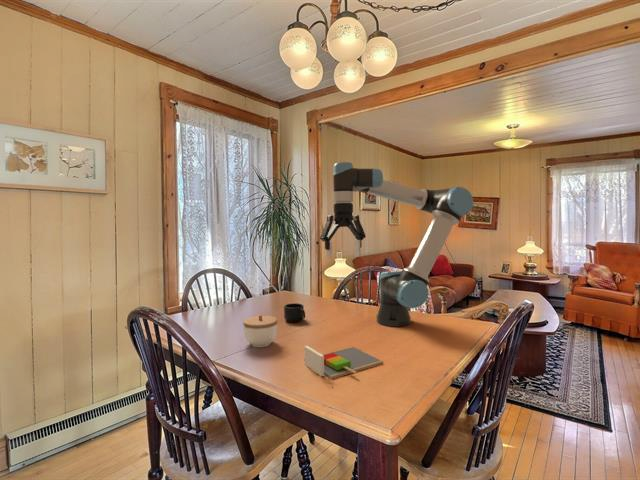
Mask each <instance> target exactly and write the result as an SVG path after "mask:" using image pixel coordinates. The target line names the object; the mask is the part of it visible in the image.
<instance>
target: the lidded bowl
mask: <svg viewBox="0 0 640 480" xmlns="http://www.w3.org/2000/svg"><path fill="white" fill-rule="evenodd" d="M243 331H244V336H245V340H246V341H247V342H248V343H249V344H250V345H251V346H252V347H255V348H265V347H268V346H270V345H271V343H272V342H273V341H274V340H275V338H276V335H277V332H278V318H277V317H275V316H271V315H262V314H259V315H256V316H255V315H254V316H250V317H247V318H245V319H244V320H243Z"/></svg>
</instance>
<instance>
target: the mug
mask: <svg viewBox="0 0 640 480" xmlns="http://www.w3.org/2000/svg"><path fill="white" fill-rule="evenodd" d="M283 312H284V313H283V314H284V315H283V316H284V317H283V318H284V320H285V321H287V322H288V323H299V322H301V321H303V320H304V319H305V318H306V312H305V309H304V304H302V303H295V302H294V303H288V304H287V303H286V304H284V306H283Z"/></svg>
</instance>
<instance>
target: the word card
mask: <svg viewBox="0 0 640 480" xmlns="http://www.w3.org/2000/svg"><path fill="white" fill-rule="evenodd" d="M322 354H323V353H320V352H319V351H316V350H315V349H314V348H312V347H310V346H308V345H305V346H304V359H305V361H304V365H305V366H306V367H308V368H309V369H310V370H311V371H313V372H315V374H317V375H319V376H320V377H323V376H325V374H324V356H323V355H322Z"/></svg>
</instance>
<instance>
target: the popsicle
mask: <svg viewBox="0 0 640 480" xmlns="http://www.w3.org/2000/svg"><path fill="white" fill-rule="evenodd" d="M323 356H324V364H326V365H328V366H329V367H331V368H333V369H335V370H336V371H338V370H341V369H344V368H345V369H347V370H349V371H350V372H352V373H351V374H357V372H358V371H354V370H352V369H351V368H349V367H350V366H351V362H350V361H348V360H346V359H344V358H342V357H340V356H339V355H337V354H334V353H331V354H327V355H323Z"/></svg>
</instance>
